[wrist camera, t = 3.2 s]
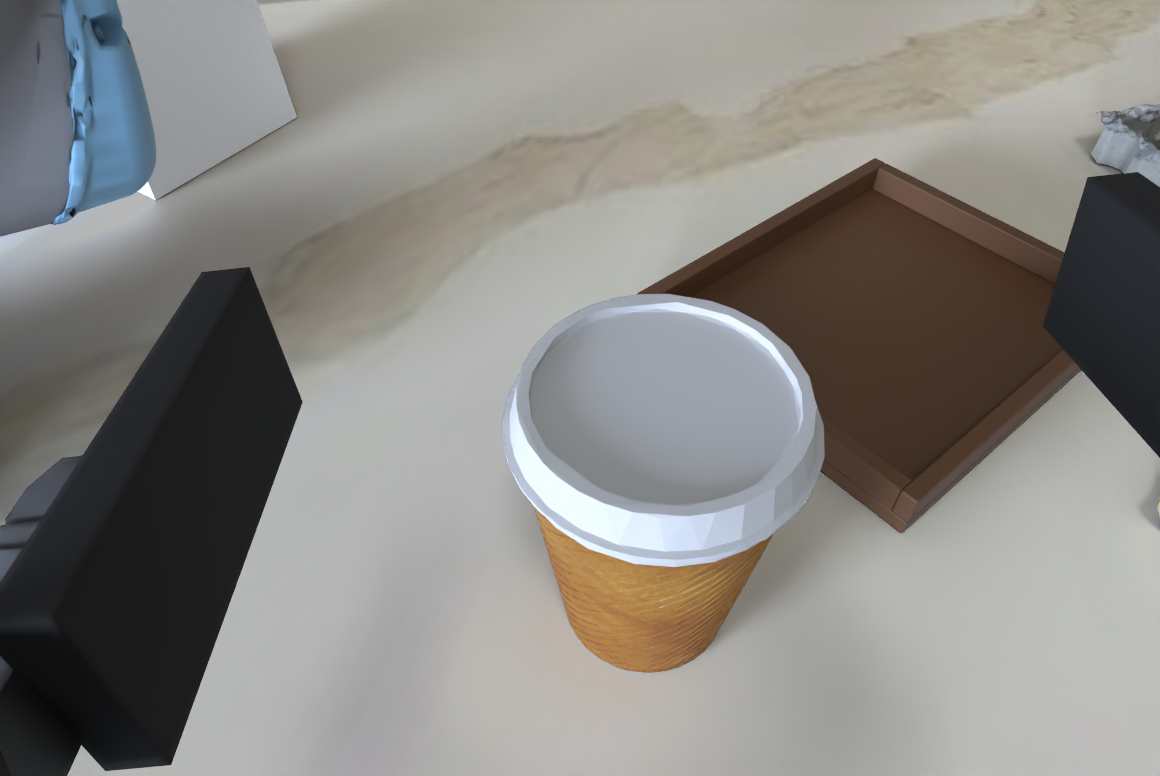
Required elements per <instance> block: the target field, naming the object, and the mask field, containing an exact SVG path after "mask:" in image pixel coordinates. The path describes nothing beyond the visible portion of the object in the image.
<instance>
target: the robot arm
mask: <svg viewBox="0 0 1160 776" xmlns="http://www.w3.org/2000/svg"><path fill="white" fill-rule="evenodd" d="M155 164H156V143H155V135H154V130H153V125H152V120H151V116H150V111H149V107H148V103H147V99H146V95H145V91H144V87H143V83H142V79H141V76H140V72H139V69H138V65H137V62H136V59H135V56H134V52H133V49H132V46H131V43H130V41H129V38H128V36H127V33H126V32H125V30H124V29H123V27H122V16H121V13H120V10H119V7H118V4H117V0H0V236H4V235H8V234H12V233H16V232H20V231H24V230H28V229H32V228H36V227H39V226H43V225H47V224H53V225H56V224H61V223H65V222H67V221H69V220H70V219H72V218H73V217H74V216H75V215H76V214H77V213H78V212H81V211H84V210H87V209H90V208H93V207H96V206H99V205H102V204H105V203H109V202H112V201H115V200H118V199H121V198H124V197H127V196H130V195H132V194H134V193H136V192H137V191H139V190H140V189H141V188H142V187H143V186H144V185H145V184H146V183H147V182H148V180H149V179H150V177H151V175H152V173H153V171H154V168H155ZM1043 327H1044V328H1045V329H1046V331H1047V332H1048V333H1049V334H1050V335H1051V336H1052V337H1053V338H1054V340H1055V341H1056V342H1057V343H1058V344H1059V345H1060V346H1061V347H1062V349H1063V350H1064V351H1065V352H1066V353H1067V354H1068V355H1069V356H1070V358H1071V359H1072V360H1073V361H1074V362H1075V363H1076V364H1077V365H1078V366H1079V368H1080V369H1081V370H1082V371H1083V372H1084V373H1085V374H1086V375H1087V377H1088V378H1089V379H1090V380H1091V381H1092V382H1093V383H1094V384H1095V386H1096V387H1097V388H1098V389H1099V390H1100V391H1101V392H1102V393H1103V395H1104V396H1105V397H1106V398H1107V399H1108V400H1109V401H1110V402H1111V403H1112V405H1113V406H1114V407H1115V408H1116V409H1117V410H1118V411H1119V412H1120V414H1121V415H1122V416H1123V417H1124V418H1125V419H1126V420H1127V421H1128V423H1129V424H1130V425H1131V426H1132V427H1133V428H1134V429H1135V430H1136V432H1137V433H1138V434H1139V435H1140V436H1141V437H1142V438H1143V439H1144V441H1145V442H1146V443H1147V444H1148V445H1149V446H1150V447H1151V448H1152V449H1153V451H1154V452H1155V453H1156V454H1157V455H1158V456H1159V457H1160V187H1159V186H1158V185H1156V184H1155V183H1153V182H1152V181H1150V180H1149V179H1147V178H1146V177H1145V176H1143V175H1142V174H1140V173H1139V172H1133V173H1124V174H1115V175H1105V176H1096V177H1088V178H1087V182H1086V185H1085V188H1084V191H1083V195H1082V198H1081V201H1080V204H1079V208H1078V211H1077V214H1076V218H1075V221H1074V224H1073V227H1072V231H1071V234H1070V237H1069V241H1068V244H1067V247H1066V250H1065V254H1064V257H1063V260H1062V264H1061V267H1060V270H1059V273H1058V277H1057V280H1056V283H1055V287H1054V290H1053V293H1052V296H1051V300H1050V303H1049V306H1048V310H1047V313H1046V316H1045V319H1044V323H1043ZM301 405H302V400H301V397H300V394H299V392H298V389H297V387H296V384H295V382H294V379H293V377H292V374H291V372H290V369H289V367H288V364H287V361H286V359H285V356H284V354H283V351H282V349H281V346H280V344H279V341H278V339H277V336H276V334H275V331H274V328H273V326H272V323H271V321H270V318H269V316H268V313H267V311H266V308H265V306H264V303H263V301H262V298H261V295H260V293H259V290H258V288H257V285H256V283H255V280H254V278H253V275H252V273H251V270H250V268H249V267H246V268H237V269H228V270H218V271H209V272H202V273H201V274H200V276H199V277H198V279H197V280H196V282H195V283H194V285H193V286H192V288H191V290H190V291H189V293H188V294H187V296H186V297H185V299H184V300H183V302H182V303H181V305H180V306H179V308H178V310H177V311H176V313H175V314H174V316H173V317H172V319H171V320H170V322H169V323H168V325H167V326H166V328H165V330H164V331H163V333H162V334H161V336H160V337H159V339H158V340H157V342H156V343H155V345H154V346H153V348H152V350H151V351H150V353H149V354H148V356H147V357H146V359H145V360H144V362H143V363H142V365H141V366H140V368H139V370H138V371H137V373H136V374H135V376H134V377H133V379H132V380H131V382H130V383H129V385H128V386H127V388H126V390H125V391H124V393H123V394H122V396H121V397H120V399H119V400H118V402H117V403H116V405H115V406H114V408H113V410H112V411H111V413H110V414H109V416H108V417H107V419H106V420H105V422H104V423H103V425H102V426H101V428H100V430H99V431H98V433H97V434H96V436H95V437H94V439H93V440H92V442H91V443H90V445H89V446H88V448H87V450H86V451H85V453H84V454H83V456H76V457H66V458H62V459H60V460H59V461H58V462H57V463H56V464H54V465H53V466H52V467H51V468H50V469H49V470H47V471H46V472H45V473H44V474H43V475H41V476H40V477H39V478H38V479H37V480H36V481H34V482H33V483H32V484H31V485H30V486H28V487H27V489H26V490H25V492H24V493H23V495H22V496H21V497H20V499H19V500H18V502H17V503H16V505H15V506H14V507H13V509H12V510H11V512H10V513H9V515H8V516H7V517H6V519H5V520H6V525H2V526H0V776H67V775H68V772H69V770H70V768H71V766H72V764H73V762H74V759H75V757H76V755H77V753H78V751H79V749H80V746H81V745H82V746H83V747H84V748H85V749H86V750H87V751H88V752H89V754H90V755H91V756H92V757H93V758H94V759H95V760H96V761H97V762H98V763H99V764H100V766H101V767H102V768H103V769H104V770H105V771H110V770H121V769H132V768H143V767H153V766H164V765H171V763H172V761H173V758H174V755H175V752H176V750H177V747H178V744H179V741H180V739H181V736H182V733H183V730H184V728H185V725H186V722H187V719H188V716H189V714H190V711H191V708H192V705H193V703H194V700H195V697H196V694H197V692H198V689H199V686H200V683H201V681H202V678H203V675H204V672H205V670H206V667H207V664H208V661H209V659H210V656H211V653H212V650H213V648H214V645H215V642H216V639H217V637H218V634H219V631H220V628H221V625H222V623H223V620H224V617H225V614H226V612H227V609H228V606H229V603H230V601H231V598H232V595H233V592H234V590H235V587H236V584H237V581H238V579H239V576H240V573H241V570H242V568H243V565H244V562H245V559H246V557H247V554H248V551H249V548H250V545H251V543H252V540H253V537H254V534H255V532H256V529H257V526H258V523H259V521H260V518H261V515H262V512H263V510H264V507H265V504H266V501H267V499H268V496H269V493H270V490H271V488H272V485H273V482H274V479H275V477H276V474H277V471H278V468H279V465H280V463H281V460H282V457H283V454H284V452H285V449H286V446H287V443H288V441H289V438H290V435H291V432H292V430H293V427H294V424H295V421H296V419H297V416H298V413H299V410H300V408H301Z"/></svg>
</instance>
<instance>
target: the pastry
mask: <svg viewBox="0 0 1160 776" xmlns="http://www.w3.org/2000/svg"><path fill="white" fill-rule="evenodd" d="M1157 510H1158V513H1159V516H1160V497H1159V500H1158V504H1157Z"/></svg>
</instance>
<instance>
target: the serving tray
mask: <svg viewBox="0 0 1160 776" xmlns="http://www.w3.org/2000/svg"><path fill="white" fill-rule="evenodd" d="M1064 254H1065V253H1064V252H1062V251H1060V250H1058V249H1056V248H1054V247H1052V246H1050V245H1048V244H1046V243H1044V242H1042V241H1040V240H1038V239H1036V238H1034V237H1032V236H1030V235H1028V234H1026V233H1024V232H1022V231H1020V230H1018V229H1016V228H1014V227H1012V226H1010V225H1008V224H1006V223H1004V222H1002V221H1000V220H998V219H996V218H994V217H992V216H990V215H988V214H986V213H984V212H982V211H980V210H978V209H976V208H974V207H972V206H970V205H968V204H966V203H964V202H962V201H960V200H958V199H956V198H954V197H952V196H950V195H948V194H946V193H944V192H942V191H940V190H938V189H936V188H934V187H932V186H930V185H928V184H926V183H924V182H922V181H920V180H918V179H916V178H914V177H912V176H910V175H908V174H906V173H904V172H902V171H900V170H898V169H896V168H894V167H892V166H890V165H888V164H885V163H884V162H882V161H880V160H878V159H876V158H875V159H873V160H871V161H869V162H868V163H866V164H864V165H862V166H860V167H859V168H857V169H855V170H853V171H852V172H850V173H848V174H846V175H845V176H843V177H841V178H839V179H838V180H836V181H834V182H832V183H831V184H829V185H827V186H825V187H824V188H822V189H820V190H818V191H817V192H815V193H813V194H811V195H810V196H808V197H806V198H804V199H803V200H801V201H799V202H797V203H795V204H794V205H792V206H790V207H788V208H787V209H785V210H783V211H781V212H780V213H778V214H776V215H774V216H773V217H771V218H769V219H767V220H766V221H764V222H762V223H760V224H759V225H757V226H755V227H753V228H752V229H750V230H748V231H746V232H745V233H743V234H741V235H739V236H738V237H736V238H734V239H732V240H730V241H729V242H727V243H725V244H723V245H722V246H720V247H718V248H716V249H715V250H713V251H711V252H709V253H708V254H706V255H704V256H702V257H701V258H699V259H697V260H695V261H694V262H692V263H690V264H688V265H687V266H685V267H683V268H681V269H680V270H678V271H676V272H674V273H673V274H671V275H669V276H667V277H665V278H664V279H662V280H660V281H658V282H657V283H655V284H653V285H651V286H650V287H648V288H646V289H644V290H643V291H641V292H639V293H638V294H672V295H678V296H684V297H690V298H696V299H702V300H708V301H713V302H716V303H718V304H721V305H724V306H727V307H730V308H733V309H735V310H737V311H739V312H741V313H743V314H745V315H747V316H749V317H751V318H752V319H754V320H756V321H758V322H760V323H762V324H763V325H765V326H766V327H767V328H768V329H769V330H770V331H772V332H773V333H774V334H775V335H776V336H777V337H778V338H780V339H781V340H782V341H783V342H784V343H785V344H787V345H788V346H789V347H790V348H791V349H792V351H793V352H794V354H795V355H796V357H797V359H798V360H799V362H800V363H801V365H802V366H803V368H804V369H805V371H806V372H807V374H808V375H809V377H810V381H811V385H812V389H813V394H814V398H815V401H816V404H817V407H818V410H819V413H820V416H821V419H822V422H823V425H824V453H825V457H824V460H823V464H822V467H821V471H822V472H823V473H824V474H826V475H827V476H828V477H830V478H831V479H832V480H833V481H835V482H836V483H837V484H839V485H840V486H841V487H842V488H844V489H845V490H846V491H848V492H849V493H850V494H851V495H853V496H854V497H855V498H857V499H858V500H859V501H860V502H862V503H863V504H864V505H866V506H867V507H868V508H869V509H871V510H872V511H873V512H875V513H876V514H877V515H878V516H880V517H881V518H882V519H884V520H885V521H886V522H887V523H889V524H890V525H891V526H893V527H894V528H895V529H896V530H898V531H899V532H901V533H902V532H904V531H905V530H906V529H907V528H908V527H910V526H911V525H912V524H913V523H914V522H915V521H916V520H917V519H918V518H919V517H920V516H922V515H923V514H924V513H925V512H926V511H927V510H928V509H929V508H930V507H931V506H933V505H934V504H935V503H936V502H937V501H938V500H939V499H940V498H941V497H942V496H944V495H945V494H946V493H947V492H948V491H949V490H950V489H951V488H952V487H953V486H954V485H956V484H957V483H958V482H959V481H960V480H961V479H962V478H963V477H964V476H965V475H967V474H968V473H969V472H970V471H971V470H972V469H973V468H974V467H975V466H976V465H978V464H979V463H980V462H981V461H982V460H983V459H984V458H985V457H986V456H987V455H988V454H990V453H991V452H992V451H993V450H994V449H995V448H996V447H997V446H998V445H999V444H1001V443H1002V442H1003V441H1004V440H1005V439H1006V438H1007V437H1008V436H1009V435H1010V434H1012V433H1013V432H1014V431H1015V430H1016V429H1017V428H1018V427H1019V426H1020V425H1021V424H1023V423H1024V422H1025V421H1026V420H1027V419H1028V418H1029V417H1030V416H1031V415H1032V414H1033V413H1035V412H1036V411H1037V410H1038V409H1039V408H1040V407H1041V406H1042V405H1043V404H1044V403H1046V402H1047V401H1048V400H1049V399H1050V398H1051V397H1052V396H1053V395H1054V394H1055V393H1057V392H1058V391H1059V390H1060V389H1061V388H1062V387H1063V386H1064V385H1065V384H1066V383H1067V382H1069V381H1070V380H1071V379H1072V378H1073V377H1074V376H1075V375H1076V374H1077V373H1078V372H1080V371H1081V369H1080V368H1079V366H1078V365H1077V364H1076V363H1075V362H1074V361H1073V360H1072V359H1071V358H1070V356H1069V355H1068V354H1067V353H1066V352H1065V351H1064V350H1063V349H1062V347H1061V346H1060V345H1059V344H1058V343H1057V342H1056V341H1055V340H1054V338H1053V337H1052V336H1051V335H1050V334H1049V333H1048V332H1047V331H1046V329H1045V328H1044V327H1043V323H1044V319H1045V316H1046V313H1047V310H1048V306H1049V303H1050V300H1051V296H1052V293H1053V290H1054V287H1055V283H1056V280H1057V277H1058V273H1059V270H1060V267H1061V264H1062V260H1063V257H1064ZM638 294H637V295H638Z"/></svg>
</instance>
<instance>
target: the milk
mask: <svg viewBox="0 0 1160 776" xmlns="http://www.w3.org/2000/svg"><path fill="white" fill-rule="evenodd" d="M117 4H118V7H119V10H120V13H121V16H122V27H123V29H124V30H125V32H126V33H127V36H128V38H129V41H130V43H131V46H132V49H133V52H134V56H135V59H136V62H137V65H138V69H139V72H140V76H141V79H142V83H143V87H144V91H145V95H146V99H147V103H148V107H149V111H150V116H151V120H152V125H153V130H154V135H155V143H156V164H155V168H154V171H153V173H152V175H151V177H150V179H149V180H148V182H147V183H146V184H145V185H144V186H143V187H142V188H141V189H140V190H139V191H137V192H139V193H141V194H143V195H145V196H148V197H150V198H152V199H154V200H157V199H159V198H160V197H162V196H164V195H166V194H167V193H169V192H171V191H172V190H174V189H176V188H177V187H179V186H181V185H183V184H184V183H186V182H188V181H189V180H191V179H193V178H194V177H196V176H198V175H200V174H201V173H203V172H205V171H206V170H208V169H210V168H212V167H213V166H215V165H217V164H218V163H220V162H222V161H223V160H225V159H227V158H229V157H230V156H232V155H234V154H235V153H237V152H239V151H241V150H242V149H244V148H246V147H247V146H249V145H251V144H252V143H254V142H256V141H258V140H259V139H261V138H263V137H264V136H266V135H268V134H269V133H271V132H273V131H275V130H276V129H278V128H280V127H281V126H283V125H285V124H287V123H288V122H290V121H292V120H293V119H295V118H297V116H296V113H295V110H294V107H293V104H292V102H291V99H290V96H289V93H288V90H287V87H286V84H285V81H284V78H283V75H282V72H281V69H280V67H279V64H278V61H277V58H276V55H275V52H274V49H273V46H272V43H271V40H270V37H269V34H268V32H267V29H266V26H265V23H264V20H263V17H262V14H261V11H260V8H259V5H258V2H257V0H117Z"/></svg>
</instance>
